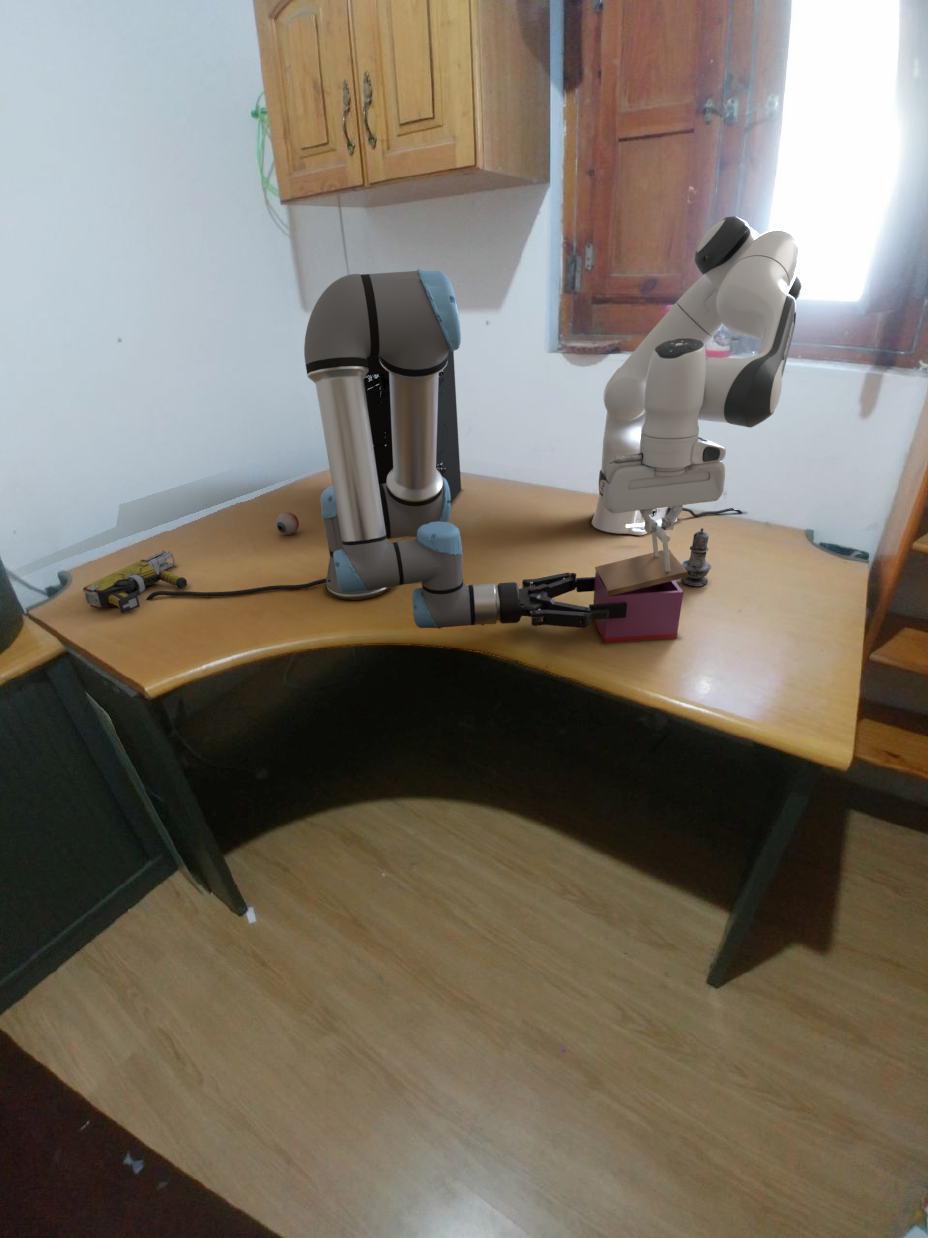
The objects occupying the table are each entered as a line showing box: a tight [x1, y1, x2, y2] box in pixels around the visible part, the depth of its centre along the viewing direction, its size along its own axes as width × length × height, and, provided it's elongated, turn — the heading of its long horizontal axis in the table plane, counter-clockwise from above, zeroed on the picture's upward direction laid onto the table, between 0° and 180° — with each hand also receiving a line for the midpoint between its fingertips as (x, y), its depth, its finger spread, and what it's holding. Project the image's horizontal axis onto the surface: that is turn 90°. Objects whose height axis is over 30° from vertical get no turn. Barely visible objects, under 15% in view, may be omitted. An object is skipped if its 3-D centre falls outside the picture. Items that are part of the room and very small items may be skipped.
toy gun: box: [82, 550, 188, 615], centre depth 138 cm, size 5×24×15 cm
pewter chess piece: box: [680, 527, 712, 587], centre depth 126 cm, size 6×6×12 cm
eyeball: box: [275, 511, 300, 536], centre depth 163 cm, size 6×6×6 cm
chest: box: [592, 572, 684, 644], centre depth 112 cm, size 13×10×10 cm
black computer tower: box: [364, 351, 462, 505], centre depth 166 cm, size 38×20×45 cm, turn 167°
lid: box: [594, 520, 688, 596], centre depth 107 cm, size 14×10×8 cm
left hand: (618, 595), depth 111 cm, fingers closed on chest, 10 cm apart
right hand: (658, 530), depth 105 cm, fingers closed on lid, 2 cm apart
